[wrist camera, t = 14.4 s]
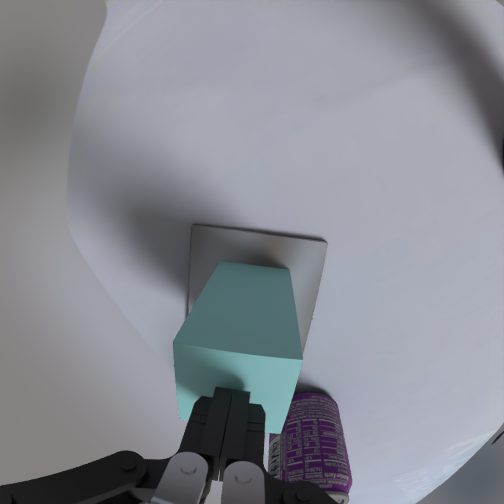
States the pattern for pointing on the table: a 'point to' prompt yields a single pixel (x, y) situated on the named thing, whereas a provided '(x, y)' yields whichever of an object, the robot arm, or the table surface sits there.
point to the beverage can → (312, 446)
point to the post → (260, 262)
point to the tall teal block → (241, 341)
